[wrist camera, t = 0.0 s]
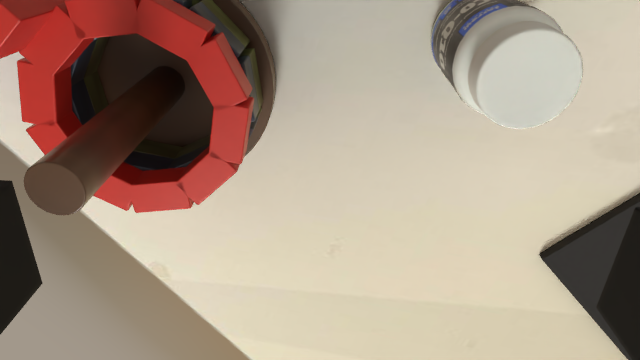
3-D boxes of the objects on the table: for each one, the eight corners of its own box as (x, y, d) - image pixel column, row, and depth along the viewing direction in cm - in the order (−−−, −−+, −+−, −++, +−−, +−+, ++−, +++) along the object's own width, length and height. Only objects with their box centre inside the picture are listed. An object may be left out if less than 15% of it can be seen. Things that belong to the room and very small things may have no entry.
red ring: (297, 109, 23) (291, 142, 20) (159, 230, 27) (133, 276, 23) (23, -175, 18) (-51, -199, 15) (-103, 19, 22) (-187, 38, 18)
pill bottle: (460, -29, 24) (516, -9, 17) (538, 14, 25) (623, 51, 18) (412, 57, 26) (443, 109, 19) (485, 93, 27) (542, 157, 20)
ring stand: (156, -89, 23) (-15, -102, 12) (318, 86, 27) (306, 203, 16) (27, 70, 27) (-198, 176, 16) (185, 203, 31) (96, 367, 20)
